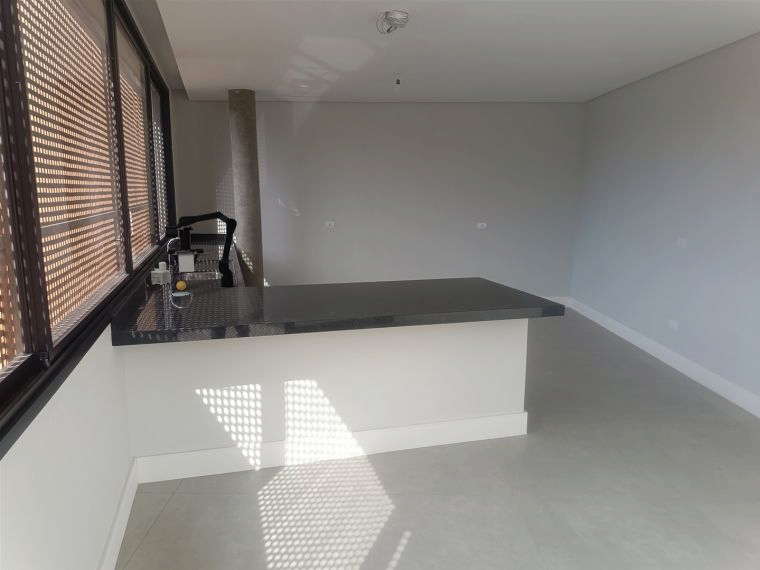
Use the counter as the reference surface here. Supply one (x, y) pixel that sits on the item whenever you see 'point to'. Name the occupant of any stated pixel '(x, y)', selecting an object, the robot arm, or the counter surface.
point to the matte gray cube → (186, 263)
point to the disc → (181, 293)
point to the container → (160, 274)
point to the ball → (181, 285)
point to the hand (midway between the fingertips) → (186, 266)
